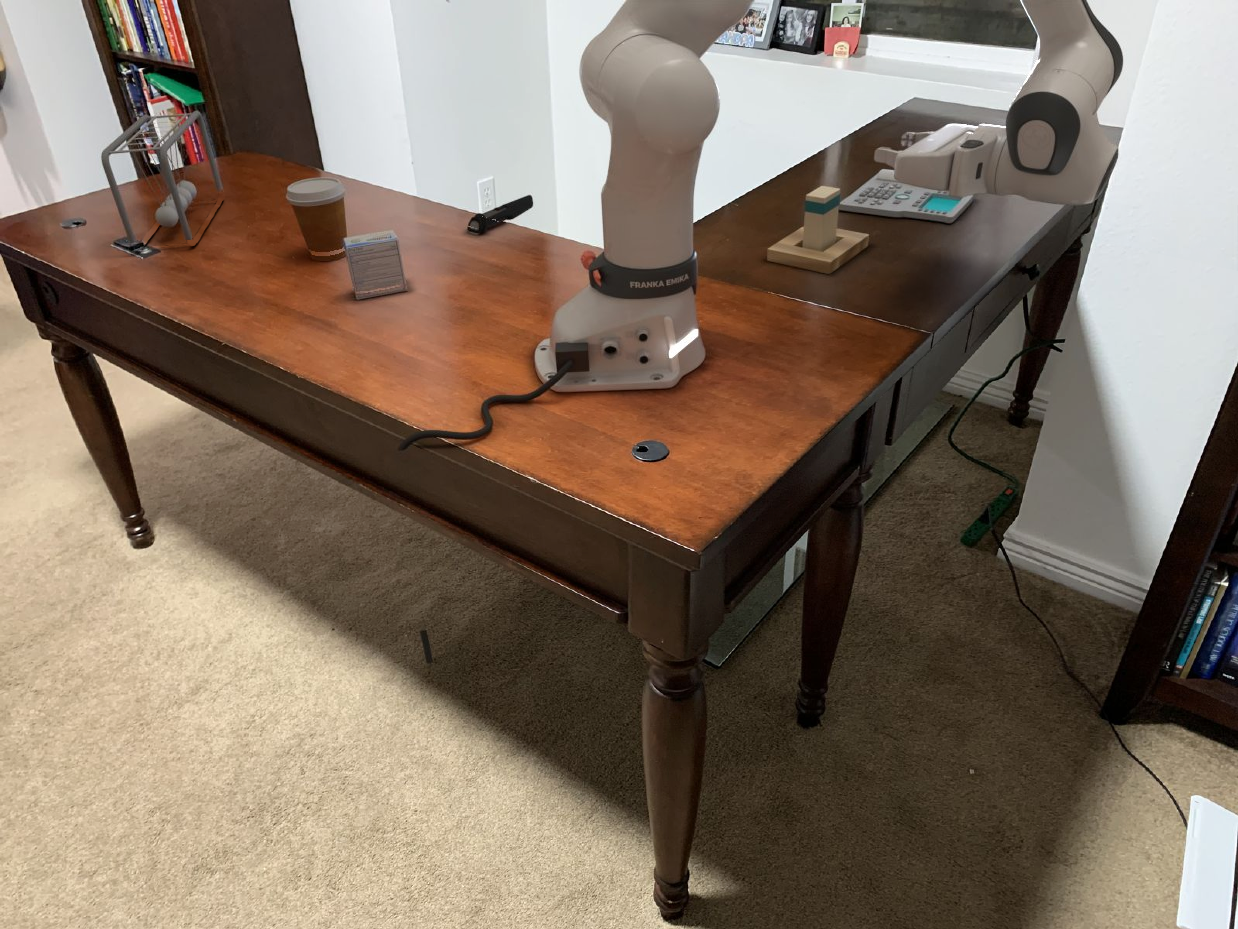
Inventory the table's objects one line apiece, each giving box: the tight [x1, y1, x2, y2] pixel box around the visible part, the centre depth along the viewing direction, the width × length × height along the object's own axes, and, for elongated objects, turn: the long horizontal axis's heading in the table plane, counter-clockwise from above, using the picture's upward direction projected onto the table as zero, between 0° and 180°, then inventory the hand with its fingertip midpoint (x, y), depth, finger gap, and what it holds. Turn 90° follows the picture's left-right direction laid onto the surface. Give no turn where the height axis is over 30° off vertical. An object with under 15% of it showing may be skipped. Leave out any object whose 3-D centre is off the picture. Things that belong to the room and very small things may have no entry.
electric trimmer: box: [467, 194, 534, 236], centre depth 168 cm, size 4×16×3 cm, turn 142°
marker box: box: [802, 185, 841, 252], centre depth 147 cm, size 6×3×10 cm, turn 143°
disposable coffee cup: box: [285, 176, 348, 262], centre depth 155 cm, size 10×10×12 cm
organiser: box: [766, 225, 870, 275], centre depth 149 cm, size 14×11×2 cm
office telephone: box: [838, 168, 974, 224], centre depth 169 cm, size 23×3×20 cm
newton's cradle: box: [100, 110, 224, 244], centre depth 170 cm, size 30×10×18 cm, turn 9°
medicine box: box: [343, 229, 408, 301], centre depth 142 cm, size 8×4×9 cm, turn 111°
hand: (890, 145), depth 134 cm, fingers open, 8 cm apart
